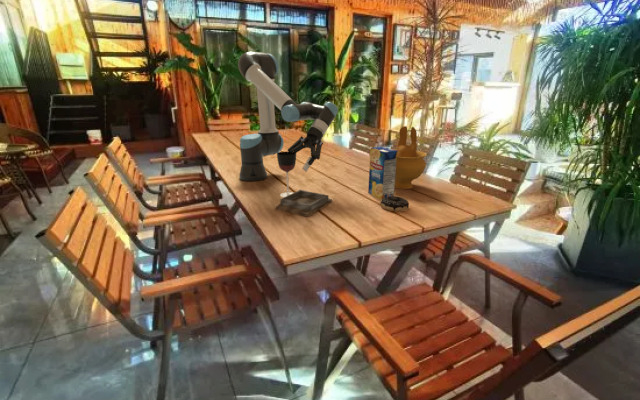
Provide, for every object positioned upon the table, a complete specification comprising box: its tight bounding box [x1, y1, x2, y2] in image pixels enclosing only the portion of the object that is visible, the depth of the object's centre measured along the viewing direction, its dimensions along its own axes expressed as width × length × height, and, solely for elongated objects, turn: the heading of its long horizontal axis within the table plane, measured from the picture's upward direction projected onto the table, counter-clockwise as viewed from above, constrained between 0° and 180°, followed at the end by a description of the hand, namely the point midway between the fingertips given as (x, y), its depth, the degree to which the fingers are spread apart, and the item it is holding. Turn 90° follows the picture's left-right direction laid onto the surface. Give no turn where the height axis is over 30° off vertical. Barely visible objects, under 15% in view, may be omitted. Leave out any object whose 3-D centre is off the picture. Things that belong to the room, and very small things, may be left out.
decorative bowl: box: [392, 125, 427, 190], centre depth 166 cm, size 21×21×30 cm
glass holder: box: [275, 189, 333, 218], centre depth 143 cm, size 16×20×4 cm
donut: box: [379, 195, 410, 213], centre depth 141 cm, size 11×12×4 cm
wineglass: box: [276, 151, 297, 198], centre depth 154 cm, size 8×9×20 cm
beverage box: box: [367, 146, 397, 201], centre depth 153 cm, size 7×11×22 cm, turn 26°
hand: (294, 167), depth 154 cm, fingers open, 13 cm apart
